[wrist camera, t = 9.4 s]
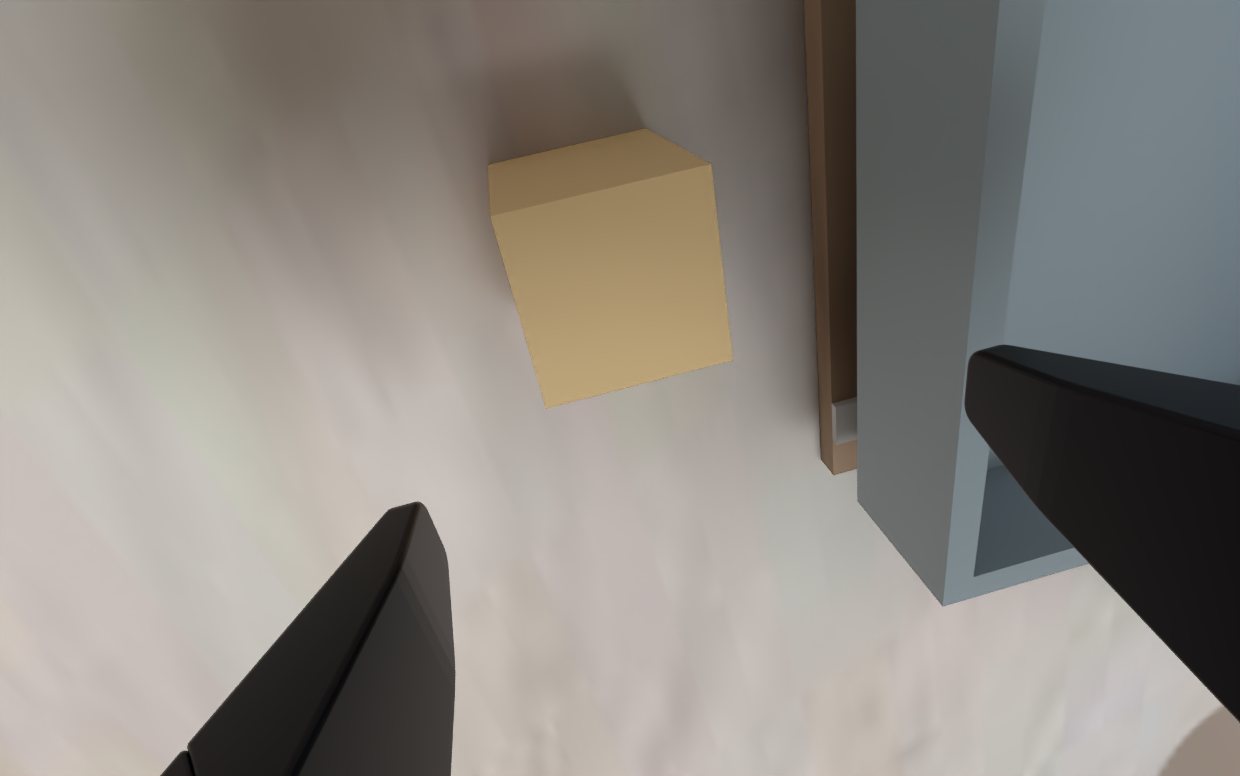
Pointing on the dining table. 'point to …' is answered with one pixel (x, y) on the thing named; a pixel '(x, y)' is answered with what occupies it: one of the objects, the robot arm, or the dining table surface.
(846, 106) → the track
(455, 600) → the dining table surface
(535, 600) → the dining table surface
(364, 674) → the robot arm
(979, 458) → the box
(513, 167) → the ochre block
